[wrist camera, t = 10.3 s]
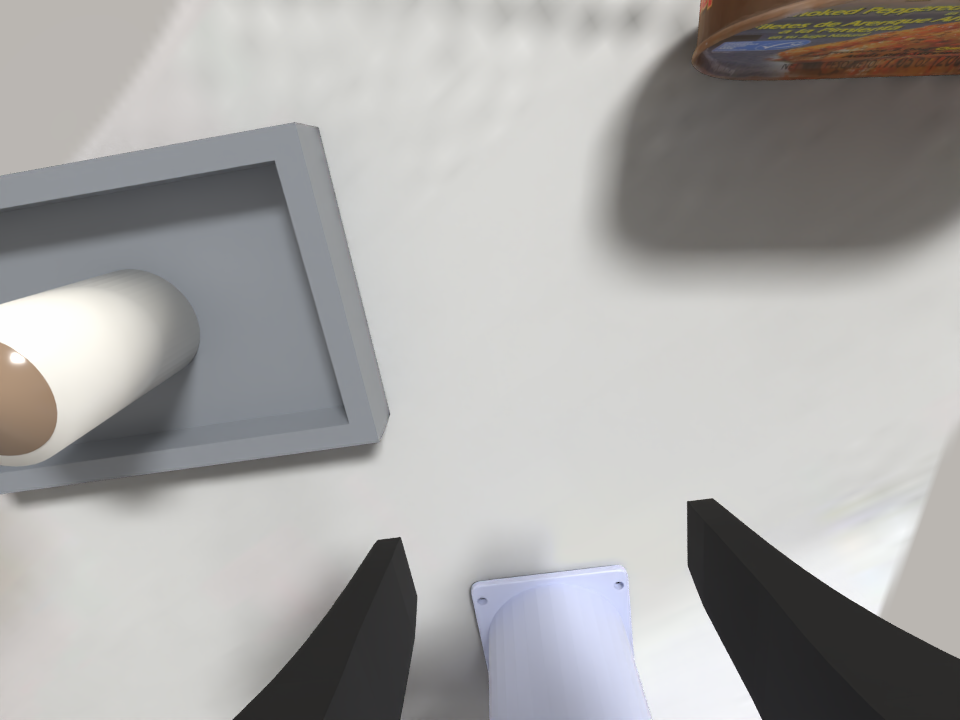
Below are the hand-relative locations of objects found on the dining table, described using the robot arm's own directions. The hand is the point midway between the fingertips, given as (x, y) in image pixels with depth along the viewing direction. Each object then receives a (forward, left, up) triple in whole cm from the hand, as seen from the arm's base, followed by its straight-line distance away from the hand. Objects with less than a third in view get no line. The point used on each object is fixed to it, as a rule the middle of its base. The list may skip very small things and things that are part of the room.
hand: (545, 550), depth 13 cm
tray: (+5, +15, -10) cm, 19 cm away
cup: (+5, +15, -10) cm, 19 cm away
